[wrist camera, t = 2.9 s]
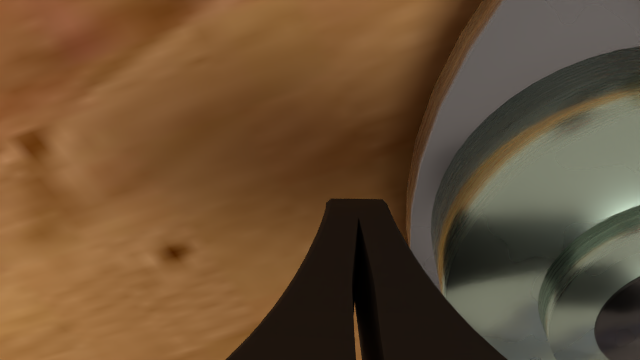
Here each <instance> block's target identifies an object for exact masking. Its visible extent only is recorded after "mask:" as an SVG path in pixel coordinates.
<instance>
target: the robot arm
mask: <svg viewBox="0 0 640 360" xmlns="http://www.w3.org/2000/svg"><path fill="white" fill-rule="evenodd" d="M354 303H355V308H356V316H357V324H358V332H359V339H360V347H361V355H362V360H508V359H506V358H505V357H504V356H503V355H502V354H500V353H499V352H498V351H497V350H496V349H495V348H494V347H493V346H492V345H491V344H490V343H488V342H487V341H486V340H485V339H484V338H483V337H482V336H481V335H480V334H479V333H478V332H477V331H475V330H474V329H473V328H472V327H471V326H470V324H469V323H468V322H467V321H466V320H465V319H464V318H463V317H462V316H461V315H460V314H459V313H458V312H457V311H456V310H455V308H454V307H453V306H452V305H451V304H450V303H449V302H448V300H447V299H446V298H445V297H444V296H443V294H442V293H441V292H440V291H439V289H438V288H437V287H436V286H435V284H434V283H433V282H432V280H431V279H430V277H429V276H428V275H427V273H426V272H425V271H424V269H423V268H422V266H421V265H420V263H419V262H418V260H417V259H416V257H415V256H414V254H413V252H412V251H411V249H410V248H409V246H408V245H407V243H406V241H405V240H404V238H403V236H402V234H401V232H400V231H399V229H398V227H397V225H396V223H395V221H394V219H393V217H392V215H391V212H390V210H389V208H388V205H387V203H386V202H385V201H384V200H383V199H330V200H329V201H328V202H326V209H325V213H324V216H323V219H322V222H321V225H320V227H319V230H318V232H317V235H316V237H315V239H314V241H313V243H312V245H311V247H310V249H309V251H308V253H307V255H306V257H305V259H304V261H303V262H302V264H301V266H300V268H299V269H298V271H297V273H296V274H295V276H294V278H293V280H292V281H291V283H290V284H289V286H288V287H287V289H286V290H285V292H284V293H283V295H282V296H281V297H280V299H279V300H278V301H277V303H276V304H275V306H274V307H273V308H272V309H271V311H270V312H269V313H268V314H267V316H266V317H265V318H264V319H263V321H262V322H261V323H260V324H259V325H258V327H257V328H256V329H255V330H254V331H253V332H252V333H251V334H250V336H249V337H248V338H247V339H246V340H245V341H244V342H243V343H242V344H241V345H240V346H239V347H238V348H237V349H236V350H235V351H234V352H233V353H232V354H231V355H230V356H229V357H228V358H227V359H226V360H356V354H355V337H354V319H353V315H354Z"/></svg>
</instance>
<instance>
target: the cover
mask: <svg viewBox="0 0 640 360" xmlns="http://www.w3.org/2000/svg"><path fill="white" fill-rule="evenodd" d="M431 238H432V247H433V253H434V258H435V263H436V268H437V274H438V279H439V284H440V289H441V293H442V294H443V296H444V297H445V298H446V299H447V300H448V302H449V303H450V304H451V305H452V306H453V307H454V308H455V310H456V311H457V312H458V313H459V314H460V315H461V316H462V317H463V318H464V319H465V320H466V321H467V322H468V323H469V324H470V326H471V327H472V328H473V329H474V330H475V331H477V332H478V333H479V334H480V335H481V336H482V337H483V338H484V339H485V340H486V341H487V342H488V343H490V344H491V345H492V346H493V347H494V348H495V349H496V350H497V351H498V352H499V353H500V354H502V355H503V356H504V357H505V358H506V359H508V360H640V46H639V47H633V48H627V49H620V50H616V51H612V52H609V53H605V54H602V55H598V56H594V57H591V58H588V59H585V60H583V61H580V62H577V63H575V64H572V65H570V66H567V67H565V68H562V69H560V70H558V71H556V72H554V73H552V74H550V75H548V76H546V77H544V78H542V79H540V80H538V81H537V82H535V83H533V84H531V85H530V86H528V87H527V88H525V89H524V90H522V91H521V92H519V93H518V94H516V95H515V96H513V97H512V98H510V99H509V100H507V101H506V102H505V103H504V104H503V105H501V106H500V107H499V108H498V109H497V110H495V111H494V112H493V113H492V114H490V115H489V116H488V117H487V118H486V119H485V120H484V121H483V122H482V123H481V124H480V125H479V126H478V127H477V128H476V129H475V130H474V131H473V133H472V134H471V135H470V136H469V137H468V138H467V140H466V141H465V142H464V144H463V145H462V146H461V148H460V149H459V150H458V152H457V153H456V154H455V156H454V157H453V159H452V161H451V163H450V164H449V166H448V168H447V170H446V172H445V173H444V175H443V178H442V180H441V183H440V185H439V188H438V190H437V193H436V197H435V201H434V205H433V210H432V218H431Z"/></svg>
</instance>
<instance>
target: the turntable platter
mask: <svg viewBox="0 0 640 360" xmlns="http://www.w3.org/2000/svg"><path fill="white" fill-rule="evenodd" d="M639 46H640V0H483V1H482V2H481V4H480V5H479V7H478V8H477V10H476V11H475V13H474V14H473V16H472V17H471V19H470V20H469V22H468V23H467V25H466V26H465V28H464V29H463V31H462V32H461V34H460V36H459V38H458V40H457V42H456V44H455V46H454V48H453V50H452V52H451V54H450V56H449V58H448V60H447V62H446V64H445V66H444V68H443V70H442V72H441V74H440V76H439V78H438V80H437V82H436V84H435V86H434V88H433V91H432V93H431V96H430V99H429V102H428V105H427V108H426V111H425V114H424V117H423V120H422V122H421V125H420V128H419V131H418V134H417V137H416V141H415V146H414V151H413V156H412V162H411V167H410V172H409V177H408V183H407V204H406V231H407V238H408V245H409V248H410V249H411V251H412V252H413V254H414V256H415V257H416V259H417V260H418V262H419V263H420V265H421V266H422V268H423V269H424V271H425V272H426V273H427V275H428V276H429V277H430V279H431V280H432V282H433V283H434V284H435V286H436V287H437V288H438V289H439V291H440V292H441V289H440V284H439V279H438V274H437V268H436V263H435V258H434V253H433V247H432V238H431V218H432V210H433V205H434V201H435V197H436V193H437V190H438V188H439V185H440V183H441V180H442V178H443V175H444V173H445V172H446V170H447V168H448V166H449V164H450V163H451V161H452V159H453V157H454V156H455V154H456V153H457V152H458V150H459V149H460V148H461V146H462V145H463V144H464V142H465V141H466V140H467V138H468V137H469V136H470V135H471V134H472V133H473V131H474V130H475V129H476V128H477V127H478V126H479V125H480V124H481V123H482V122H483V121H484V120H485V119H486V118H487V117H488V116H489V115H490V114H492V113H493V112H494V111H495V110H497V109H498V108H499V107H500V106H501V105H503V104H504V103H505V102H506V101H507V100H509V99H510V98H512V97H513V96H515V95H516V94H518V93H519V92H521V91H522V90H524V89H525V88H527V87H528V86H530V85H531V84H533V83H535V82H537V81H538V80H540V79H542V78H544V77H546V76H548V75H550V74H552V73H554V72H556V71H558V70H560V69H562V68H565V67H567V66H570V65H572V64H575V63H577V62H580V61H583V60H585V59H588V58H591V57H594V56H598V55H602V54H605V53H609V52H612V51H616V50H620V49H627V48H633V47H639Z"/></svg>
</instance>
